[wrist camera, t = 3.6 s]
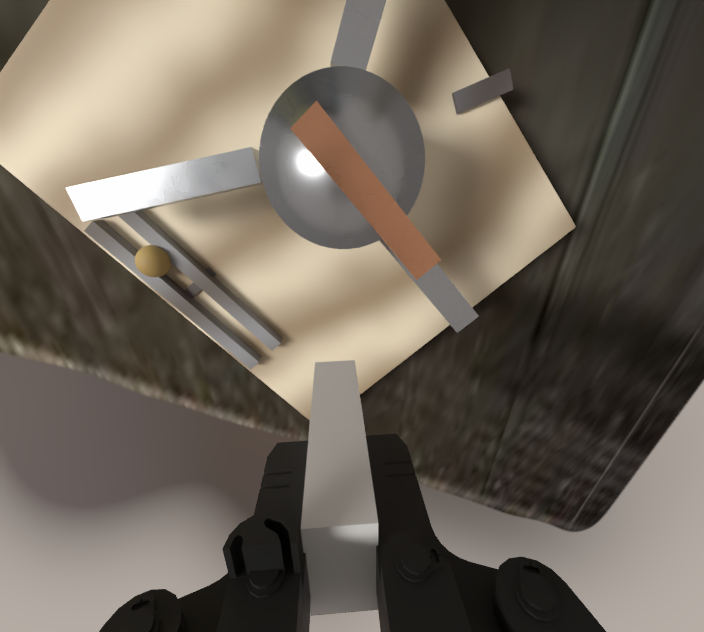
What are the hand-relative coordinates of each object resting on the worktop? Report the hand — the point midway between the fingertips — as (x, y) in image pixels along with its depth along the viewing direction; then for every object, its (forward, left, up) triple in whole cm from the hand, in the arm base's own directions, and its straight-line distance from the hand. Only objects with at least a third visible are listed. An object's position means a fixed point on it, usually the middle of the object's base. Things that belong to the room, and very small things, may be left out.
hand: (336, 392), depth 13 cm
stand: (-7, +4, -11) cm, 14 cm away
